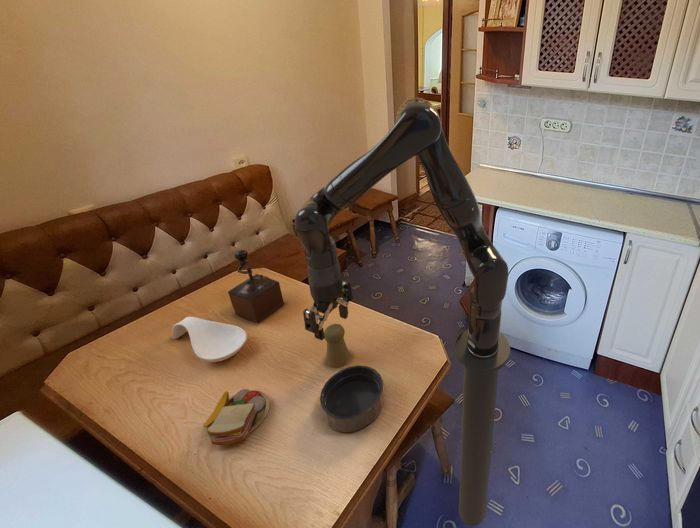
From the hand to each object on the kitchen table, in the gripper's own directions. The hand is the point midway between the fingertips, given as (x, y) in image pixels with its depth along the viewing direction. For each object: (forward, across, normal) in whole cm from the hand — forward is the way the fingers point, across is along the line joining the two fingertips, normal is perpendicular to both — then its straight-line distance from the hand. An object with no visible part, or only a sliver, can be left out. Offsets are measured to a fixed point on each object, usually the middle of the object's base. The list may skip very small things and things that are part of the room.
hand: (332, 327), depth 93 cm
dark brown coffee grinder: (+12, +5, +39) cm, 41 cm away
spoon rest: (+12, -12, +36) cm, 40 cm away
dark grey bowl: (+11, -9, -13) cm, 20 cm away
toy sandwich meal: (+12, -23, +8) cm, 27 cm away
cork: (+12, 0, 0) cm, 12 cm away
